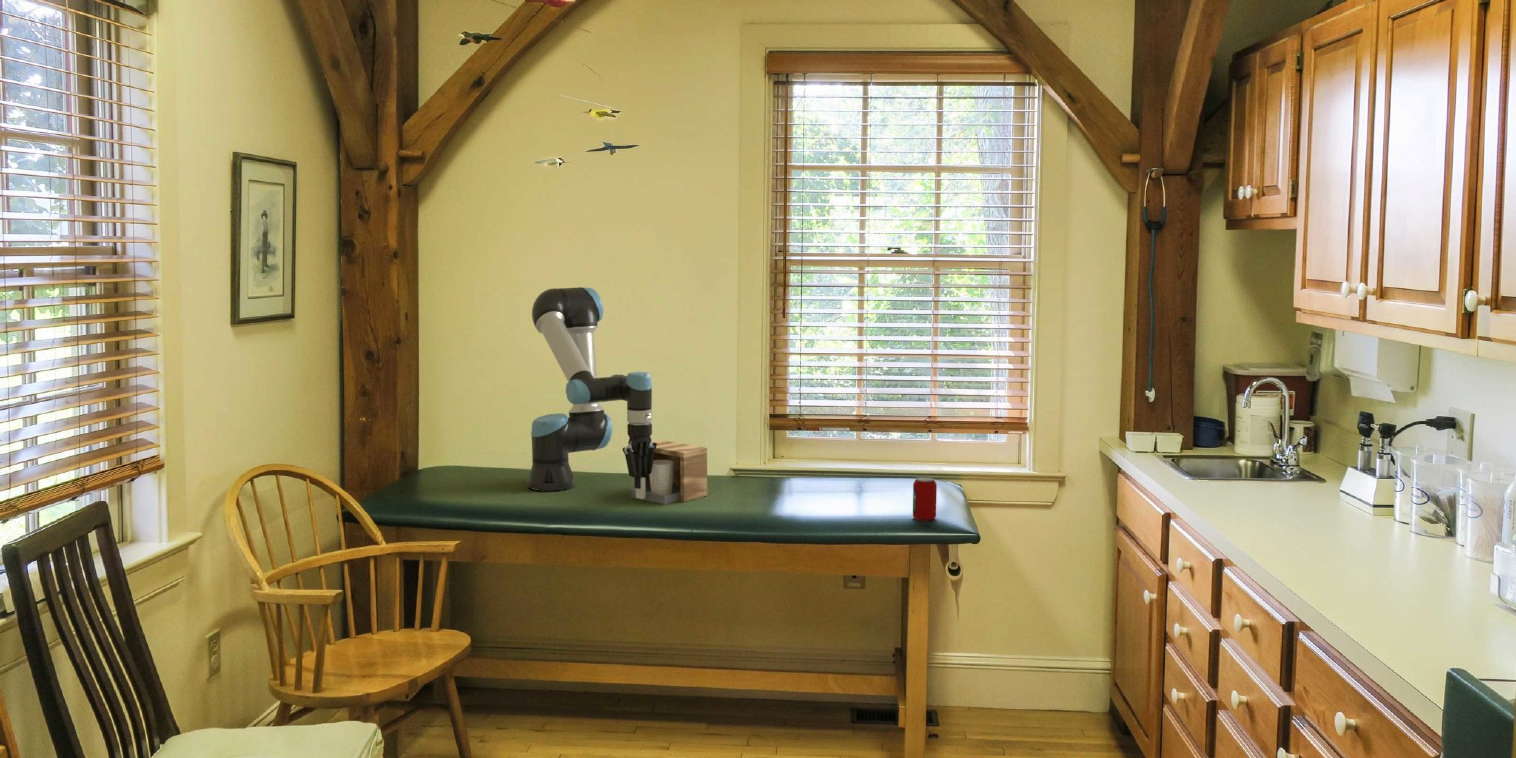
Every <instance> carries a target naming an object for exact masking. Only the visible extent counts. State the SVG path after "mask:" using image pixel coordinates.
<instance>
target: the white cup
mask: <svg viewBox="0 0 1516 758" xmlns="http://www.w3.org/2000/svg"><path fill="white" fill-rule="evenodd" d="M649 475H650V485H651V493H656V494H660V495H668V494H672V492H673V486H672V485H673V476H674V462H673V461H671V460H653V466H652V472H651V474H649Z"/></svg>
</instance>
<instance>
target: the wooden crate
mask: <svg viewBox="0 0 1516 758" xmlns="http://www.w3.org/2000/svg"><path fill="white" fill-rule="evenodd" d="M653 442H654V443H657V446H656V449H655V453H654V459H653V460H671V461H673V462H674V476H673V483H676V484H681V500H680V502H682V503H687V502H690V501H693V500H692V499H694V500H698V499H702V498H704V496H706V497H708V447H705V446H699V445H692V444H686V443H680V442H675V441H668V440H662V439H660V440H657V441H653ZM647 470H648V469H647ZM648 475H649V474H648ZM646 485H650V475H649V477H646ZM701 497H702V498H701Z"/></svg>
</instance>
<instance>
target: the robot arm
mask: <svg viewBox="0 0 1516 758" xmlns="http://www.w3.org/2000/svg"><path fill="white" fill-rule="evenodd" d="M603 315H604V304H603V300H602V298H601V296H600V294H599V292H597V290H596V289H594V288H592V287H581V286H580V287H565V288H564V287H563V288H554V287H553V288H548V289H546V290H544V291H543V292H541V293H539V295H537V297H536V298H535V300H534V302H533V305H532V308H531V319H532V322H533V325H534V328H535V329H536V330H537V332H538V333H540V334H542V335H543V337H544V339H545V341H546V344H548V347H549V348H550V350H551V353H552V354H553V356H554V359H556V362H557V363H558V365H559V368H560V369H561V371H562V373H563V375H564V377H565V379H566V380H567V383H566V386H565V394H566V399H567V401H568V402H569V403H570V404H572V407H571V408H570V409H569V410H568V415H567V414H566V413H559V412H558V413H549V414H545V415H542V416H538V417H536V418H535V419H533V421H532V423H531V432H530V436H531V457H532V458H531V461H532V463H531V468H530V472H529V476H528V478H527V488H528V487H529V488H534V489H538V490H551V491H550V492H555V491H554V490H560V491H565V490H564V489H566V490H569V488H570V489H572V488H574V487H575V477H574V476H573V472H572V469H571V466H570V463H569V462H570V461H569V454H570V453H579V452H587V451H596V450H600V449H604V448H605V447H607V446H608V445H609V442H610V441H611V439H612V434H613V423H612V420H611V417H610V416H609V414H607V413H605V410H604V408H603V406H601V405H600V403H605V402H615V401H626V410H627V411H626V413H627V416H626V421H627V426H626V428H627V436H628V438H629V439H628V443H627V446H626V447H625V446H624V447H623V448H622V453H623V454H624V456H625V461H626V467H627V471H628V476H629V477H632V478H634V488H636V498H635V499H638V498H639V500H642V499H645V487H646V477H649V475H648V474H651V472H652V466H653V459H654V453H655V449H656V446H657V443H654V442H655V441H652V438H651V436H652V435H653V424H652V421H653V419H652V417H653V416H652V415H653V413H652V411H653V410H652V406H653V405H652V404H653V403H652V401H653V399H652V398H653V390H652V389H653V388H652V387H653V385H652V376H651V375H652V374H650V373H649V372H646V371H644V372H643V371H635V372H634V371H633V372H629V373H627V375H624V374H613V375H611V376H604V377H598V376H597V375H598V373H597V362H596V361H597V360H596V350H595V348H596V347H595V336H594V332H595V331H596V330H597V328H598V327H599V326H598V323H599V322H600V321H602V319H603V317H604V316H603ZM647 469H648V470H647ZM529 488H528V489H529ZM552 490H553V491H552Z"/></svg>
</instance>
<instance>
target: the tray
mask: <svg viewBox="0 0 1516 758" xmlns="http://www.w3.org/2000/svg"><path fill="white" fill-rule="evenodd" d="M672 486H673V492H672V494H668V495H660V494H656V493H651V485H646V487H645V499H641V500H643V501H649V502H651V503H658V504H662V505H668V504H671V503H675V502H681V484H676V483H673V485H672ZM630 497H631V498H633V499H639V498H636V488H635V487H634V488H631V489H630ZM639 500H640V499H639Z"/></svg>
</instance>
